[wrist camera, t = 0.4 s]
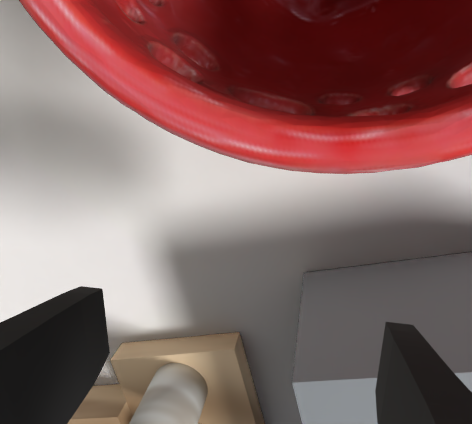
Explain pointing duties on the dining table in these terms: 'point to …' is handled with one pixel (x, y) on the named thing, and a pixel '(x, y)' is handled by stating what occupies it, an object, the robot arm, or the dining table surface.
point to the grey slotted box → (376, 330)
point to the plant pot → (284, 75)
